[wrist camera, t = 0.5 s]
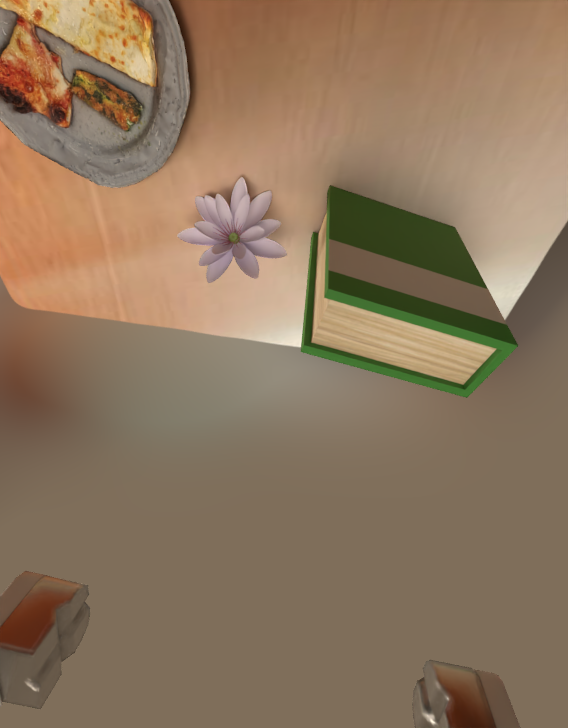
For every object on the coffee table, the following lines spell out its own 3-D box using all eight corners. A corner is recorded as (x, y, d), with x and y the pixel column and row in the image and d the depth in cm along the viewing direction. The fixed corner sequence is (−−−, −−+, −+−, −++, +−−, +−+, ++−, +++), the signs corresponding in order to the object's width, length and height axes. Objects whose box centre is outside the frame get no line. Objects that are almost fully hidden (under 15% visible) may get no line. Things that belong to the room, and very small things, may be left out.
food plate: (-41, 100, 45) (-63, 106, 43) (-58, -199, 31) (-94, -218, 28) (159, 209, 52) (150, 220, 50) (224, 8, 37) (216, 9, 35)
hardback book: (311, 237, 53) (300, 351, 36) (330, 185, 48) (328, 288, 31) (425, 274, 55) (467, 397, 38) (454, 227, 50) (518, 345, 33)
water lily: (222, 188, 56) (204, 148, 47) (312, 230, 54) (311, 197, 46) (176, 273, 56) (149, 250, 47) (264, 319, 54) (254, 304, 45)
